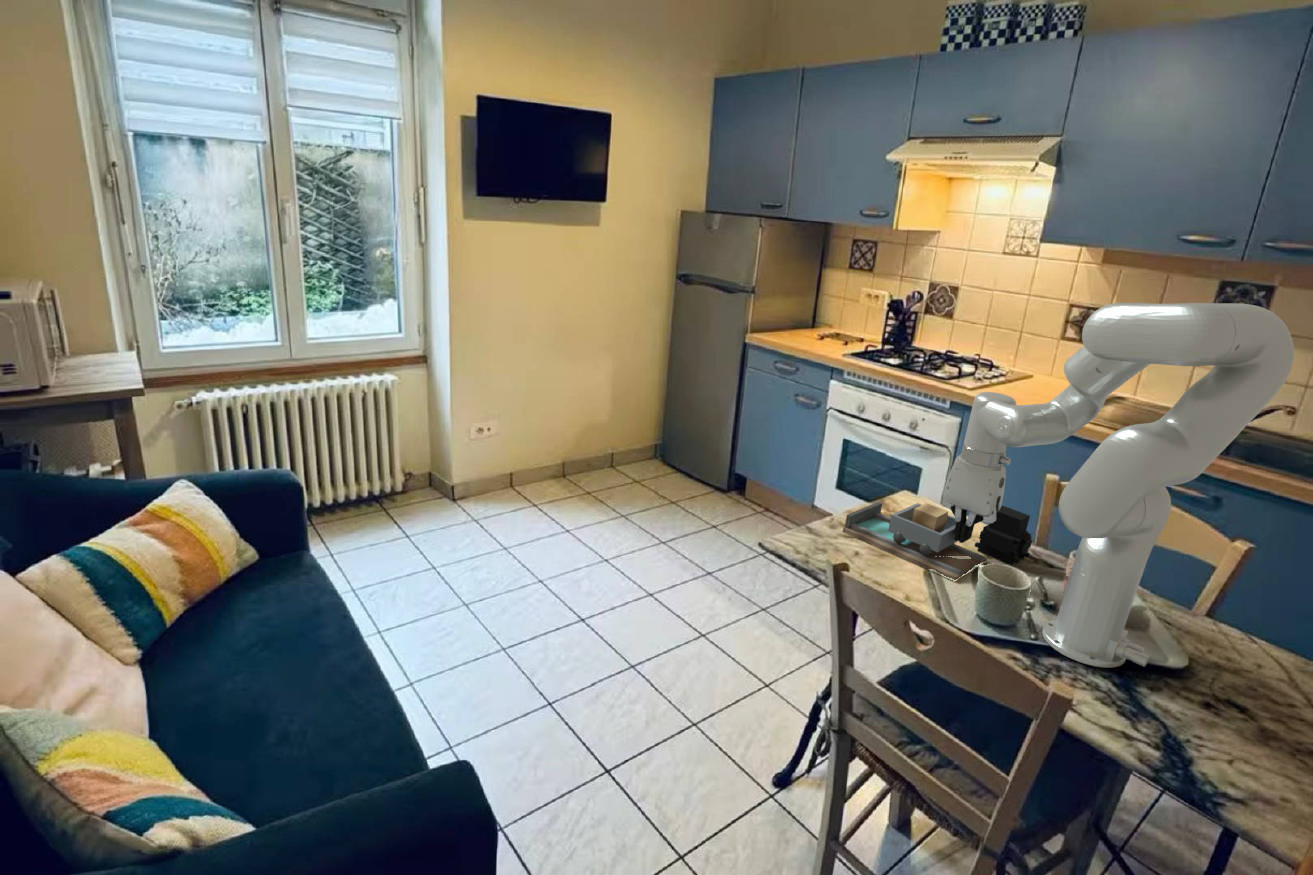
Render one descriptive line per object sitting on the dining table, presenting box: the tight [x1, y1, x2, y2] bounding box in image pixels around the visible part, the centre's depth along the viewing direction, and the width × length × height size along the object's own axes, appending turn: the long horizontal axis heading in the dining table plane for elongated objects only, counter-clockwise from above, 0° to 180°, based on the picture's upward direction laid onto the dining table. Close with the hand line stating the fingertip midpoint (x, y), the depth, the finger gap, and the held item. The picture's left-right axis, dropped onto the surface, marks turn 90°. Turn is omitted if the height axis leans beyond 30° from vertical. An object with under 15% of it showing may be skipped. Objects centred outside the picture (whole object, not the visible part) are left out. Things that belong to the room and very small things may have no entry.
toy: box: [974, 505, 1033, 566], centre depth 154 cm, size 8×14×10 cm, turn 41°
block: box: [912, 502, 949, 533], centre depth 150 cm, size 5×5×5 cm
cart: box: [888, 502, 958, 555], centre depth 151 cm, size 11×11×6 cm
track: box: [842, 501, 988, 580], centre depth 153 cm, size 26×14×4 cm, turn 42°
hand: (961, 539), depth 146 cm, fingers closed
